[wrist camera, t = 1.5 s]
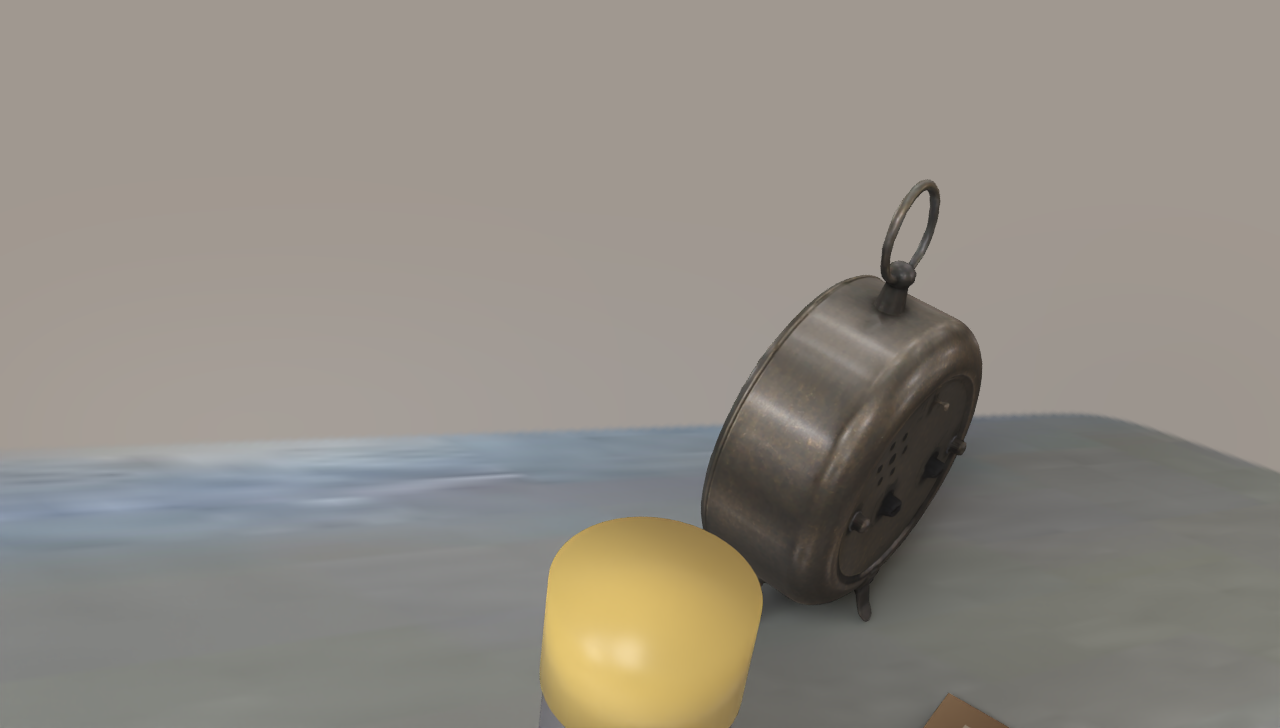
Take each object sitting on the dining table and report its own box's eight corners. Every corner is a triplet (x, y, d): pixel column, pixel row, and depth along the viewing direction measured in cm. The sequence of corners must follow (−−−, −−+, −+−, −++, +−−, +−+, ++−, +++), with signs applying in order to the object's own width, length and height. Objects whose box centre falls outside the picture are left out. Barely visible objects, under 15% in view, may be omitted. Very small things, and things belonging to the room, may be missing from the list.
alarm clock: (836, 493, 49) (931, 118, 40) (952, 559, 46) (1081, 172, 37) (668, 622, 41) (741, 196, 33) (795, 710, 39) (910, 270, 30)
